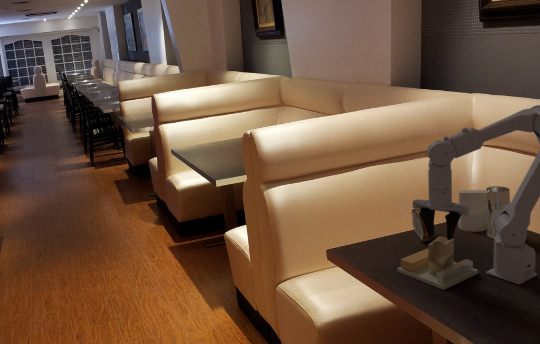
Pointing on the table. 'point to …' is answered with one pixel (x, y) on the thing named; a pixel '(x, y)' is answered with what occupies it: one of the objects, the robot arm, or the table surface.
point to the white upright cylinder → (473, 210)
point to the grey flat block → (443, 274)
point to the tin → (419, 226)
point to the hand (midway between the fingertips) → (440, 237)
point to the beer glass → (495, 205)
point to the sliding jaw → (415, 261)
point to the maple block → (440, 254)
